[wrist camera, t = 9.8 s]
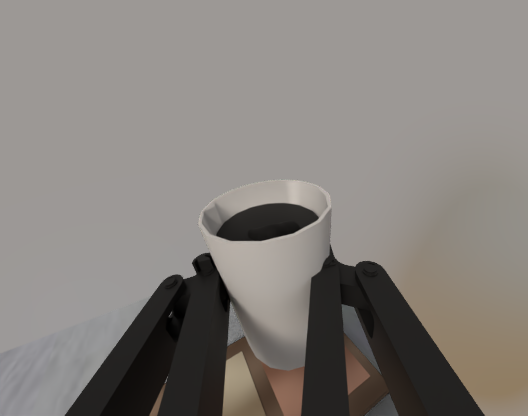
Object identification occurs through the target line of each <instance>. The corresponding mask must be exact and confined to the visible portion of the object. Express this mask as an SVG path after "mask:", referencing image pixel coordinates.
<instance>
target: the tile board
mask: <svg viewBox="0 0 528 416" xmlns="http://www.w3.org/2000/svg"><path fill="white" fill-rule="evenodd" d="M344 345H345V359H346V372H347V386H348V399H349V412H350V416H364V415H365V414H366V413H367V412H368V411H369V410H370V409H372V408H373V407H374V406H375V405H376V404H377V403H378V402H379V401H380V400H381V399H382V398H384V397H385V396H386V395H387V394H388V393H389V390H388V388H387V385H386V383H385V381H384V378H383V376H382V375H381V374H380V373H379V372H378V371H377V369H376V368H375V367H374V366H373V365H372V364H371V363H370V362H369V360H368V359H367V358H366V357H365V356H364V355H363V354H362V352H361V351H360V350H359V349H358V348H357V347H356V346H355V345H354V343H353V342H352V341H351V340H350V339H349V338H348V337H347V336H346V334H345V333H344ZM304 368H305V366H303V367H300V368H296V369H293V370H289V371H287V370H281V369H275V368H270V367H269V366H267V365H266V364H265V363H263V362H262V361H261V360H259V359H258V358H256V356H255V354H254V353H253V351H252V349H251V347H250V346H249V344H248V341H247V339H246V337H243V338H241V339H239V340H238V341H236V342H234V343H233V344H231V345H229V346H228V347H227V355H226V370H225V384H224V399H223V414H222V416H301V408H302V394H303V381H304ZM165 385H166V383H165V384H164V385H163V387H162V389H161V392H160V394H159V396H158V398H157V400H156V402H155V404H154V407H153V409H152V411H151V413H150V415H149V416H157V414H158V411H159V407H160V403H161V400H162V396H163V393H164V389H165Z"/></svg>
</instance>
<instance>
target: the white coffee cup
mask: <svg viewBox="0 0 528 416" xmlns="http://www.w3.org/2000/svg"><path fill="white" fill-rule="evenodd" d="M198 226H199V228H200V230H201V233H202V235H203V237H204V240H205V242H206V245H207V247H208V249H209V252H210V254H211V256H212V259H213V260H214V263H215V265H216V267H217V270H218V271H219V274H220V276H221V279H222V281H223V283H224V286H225V288H226V291H227V293H228V295H229V298H230V301H231V304H232V306H233V308H234V311H235V313H236V315H237V318H238V320H239V322H240V325H241V327H242V330H243V332H244V334H245V337H246V339H247V341H248V344H249V346H250V347H251V349H252V351H253V353H254V354H255V356H256V358H258V359H259V360H261V361H262V362H263V363H265V364H266V365H267V366H269V367H270V368H275V369H281V370H287V371H289V370H293V369H296V368H300V367H303V366H305V354H306V341H307V328H308V315H309V301H310V288H311V277H313V276H314V275H316V274H317V273H318V272H320V270H321V269H322V266H323V263H324V261H325V259H326V258H328V256H329V252H330V228H331V200H330V194H328V193H327V192H326V191H325V190H324V189H322V188H321V187H320V186H318V185H314V184H311V183H308V182H305V181H297V180H271V181H262V182H257V183H253V184H248V185H245V186H241V187H239V188H236V189H233V190H230V191H228V192H226V193H224V194H222V195H221V196H219V197H217V198H215V199H214V200H212V201H211V202H210V203H209V204H208V205H207V206H206V207H205V208H204V209H203V210H202V211H201V213H200V217H199V221H198Z"/></svg>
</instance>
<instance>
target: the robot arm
mask: <svg viewBox="0 0 528 416" xmlns="http://www.w3.org/2000/svg"><path fill="white" fill-rule="evenodd" d="M192 264H193V266H194V269H195V271H196V273H197V274H196V275H195V276H193V277H190V278H187V279H183V277H182V276H181V275H172V276H170V277H168V278H166V279H165V280H164V281H163V282H162V283H161V284H160V286H159V287H158V288H157V290H156V291H155V292H154V294H153V295H152V296H151V298H150V299H149V301H148V302H147V303H146V305H145V306H144V307H143V309H142V310H141V311H140V313H139V314H138V316H137V317H136V318H135V320H134V321H133V322H132V324H131V325H130V327H129V328H128V329H127V331H126V332H125V333H124V335H123V336H122V338H121V339H120V340H119V342H118V343H117V344H116V346H115V347H114V349H113V350H112V351H111V353H110V354H109V355H108V357H107V358H106V360H105V361H104V362H103V364H102V365H101V366H100V368H99V369H98V371H97V372H96V373H95V375H94V376H93V377H92V379H91V380H90V382H89V383H88V384H87V386H86V387H85V388H84V390H83V391H82V393H81V394H80V395H79V397H78V398H77V399H76V401H75V402H74V404H73V405H72V406H71V408H70V409H69V410H68V412H67V413H66V414H65V416H149V415H150V413H151V411H152V409H153V407H154V404H155V402H156V400H157V398H158V396H159V394H160V392H161V389H162V387H163V385H164V383H165V381H166V379H167V382H166V385H165V389H164V393H163V396H162V400H161V403H160V407H159V411H158V414H157V416H222V414H223V399H224V384H225V370H226V355H227V341H228V326H229V311H230V298H229V295H228V293H227V291H226V288H225V286H224V283H223V281H222V279H221V276H220V274H219V271H218V270H217V267H216V265H215V263H214V260H213V259H212V256H211V254H210V253H204V254H201V255H199V256H198V257H196V258H195V259H194V260H193V262H192ZM341 304H344V305H348V306H352V307H354V308H355V311H356V313H357V315H358V318H359V320H360V323H361V325H362V328H363V330H364V332H365V335H366V337H367V340H368V342H369V344H370V347H371V349H372V352H373V354H374V356H375V359H376V361H377V364H378V366H379V369H380V371H381V373H382V376H383V378H384V381H385V383H386V385H387V388H388V390H389V393H390V395H391V398H392V400H393V402H394V405H395V407H396V410H397V412H398V414H399V416H485V415H484V414H483V412H482V411H481V410H480V408H479V407H478V405H477V404H476V402H475V401H474V399H473V398H472V396H471V395H470V394H469V392H468V391H467V389H466V388H465V386H464V385H463V383H462V382H461V380H460V379H459V378H458V376H457V375H456V373H455V372H454V370H453V369H452V368H451V366H450V364H449V363H448V362H447V360H446V359H445V357H444V356H443V354H442V353H441V351H440V350H439V348H438V347H437V345H436V344H435V343H434V341H433V340H432V338H431V337H430V335H429V334H428V332H427V331H426V330H425V328H424V327H423V326H422V324H421V322H420V321H419V319H418V318H417V316H416V315H415V313H414V312H413V311H412V309H411V308H410V306H409V305H408V303H407V302H406V300H405V299H404V297H403V296H402V294H401V293H400V292H399V290H398V289H397V287H396V286H395V284H394V283H393V281H392V280H391V278H390V277H389V276H388V274H387V273H386V271H385V270H384V269H383V268H382V266H381V265H378V264H377V263H375V262H371V261H363V262H359V263H358V264H357V265H356V267H354V266H348V265H344V264H342V263H340V262H338V261H337V260H336V259H335V257H334V255H333V252H332V249H331V245H330V252H329V256H328V258H326V259H325V261H324V263H323V266H322V269H321V270H320V272H318V273H317V274H316V275H314V276H313V277H311V288H310V301H309V315H308V328H307V341H306V354H305V368H304V381H303V394H302V408H301V416H350V412H349V399H348V386H347V372H346V359H345V345H344V332H343V318H342V305H341ZM171 312H172V314H171ZM170 314H171V315H170ZM169 315H170V316H169ZM168 374H169V375H168ZM167 376H168V378H167Z"/></svg>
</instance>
